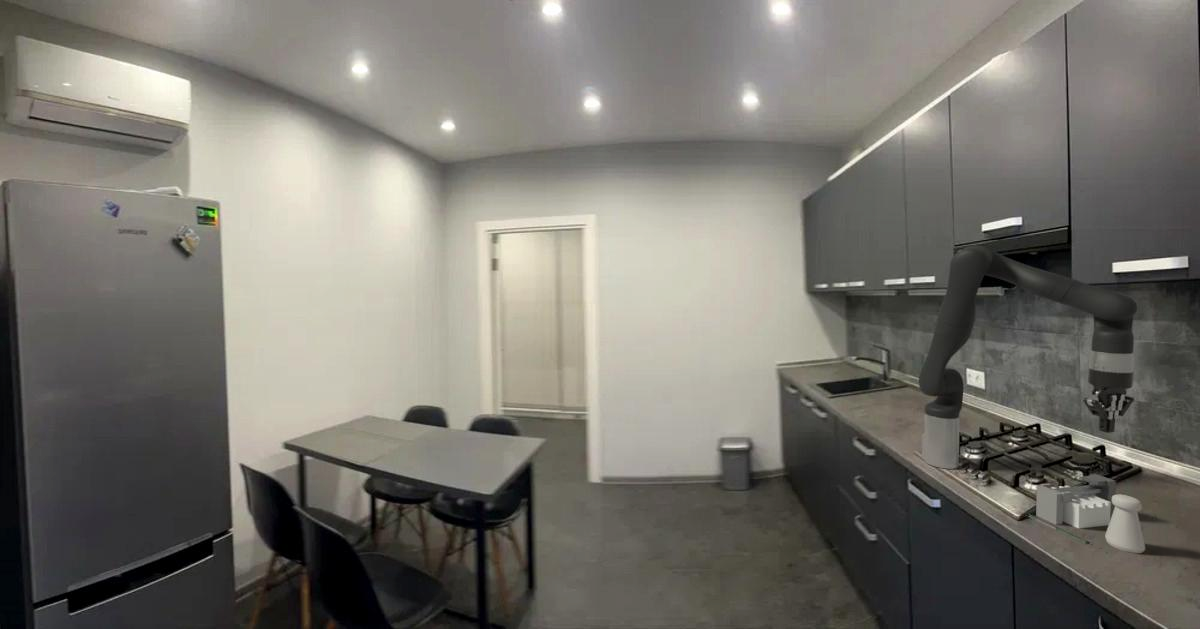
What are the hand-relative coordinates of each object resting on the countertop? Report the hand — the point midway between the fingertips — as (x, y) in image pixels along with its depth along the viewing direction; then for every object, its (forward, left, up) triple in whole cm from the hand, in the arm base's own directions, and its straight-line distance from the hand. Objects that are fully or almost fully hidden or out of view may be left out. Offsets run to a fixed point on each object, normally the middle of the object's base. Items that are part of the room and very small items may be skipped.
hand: (1106, 431), depth 113 cm
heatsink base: (+4, -14, -21) cm, 26 cm away
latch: (+4, -8, -20) cm, 22 cm away
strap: (+4, -15, -14) cm, 21 cm away
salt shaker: (+16, -19, -22) cm, 33 cm away
